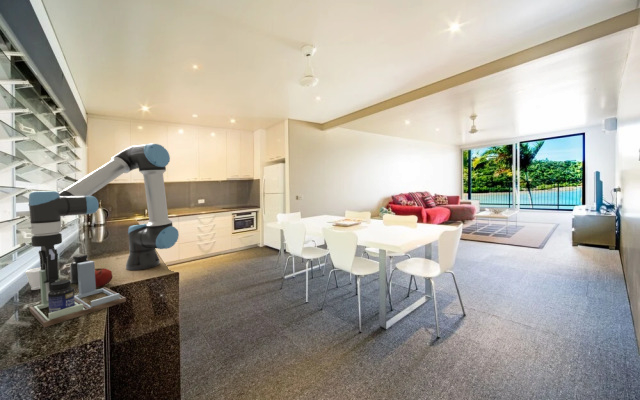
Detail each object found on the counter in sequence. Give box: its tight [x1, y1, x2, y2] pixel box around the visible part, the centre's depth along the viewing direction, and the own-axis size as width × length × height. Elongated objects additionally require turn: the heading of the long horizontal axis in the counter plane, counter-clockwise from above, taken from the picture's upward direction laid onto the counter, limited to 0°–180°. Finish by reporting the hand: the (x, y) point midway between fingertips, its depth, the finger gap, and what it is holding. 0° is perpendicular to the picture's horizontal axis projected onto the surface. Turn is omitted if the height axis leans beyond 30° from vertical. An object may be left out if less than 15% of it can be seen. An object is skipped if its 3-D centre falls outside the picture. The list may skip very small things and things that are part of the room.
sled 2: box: [74, 260, 121, 308], centre depth 98 cm, size 9×21×13 cm, turn 57°
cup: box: [25, 267, 41, 291], centre depth 113 cm, size 7×10×8 cm
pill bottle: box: [48, 279, 75, 313], centre depth 86 cm, size 6×6×11 cm
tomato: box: [95, 267, 113, 288], centre depth 112 cm, size 9×9×8 cm
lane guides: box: [29, 286, 127, 328], centre depth 93 cm, size 21×20×2 cm
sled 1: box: [33, 267, 85, 321], centre depth 89 cm, size 9×21×13 cm, turn 57°
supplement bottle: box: [69, 253, 90, 284], centre depth 119 cm, size 7×7×12 cm
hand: (51, 297), depth 94 cm, fingers closed on sled 1, 3 cm apart
